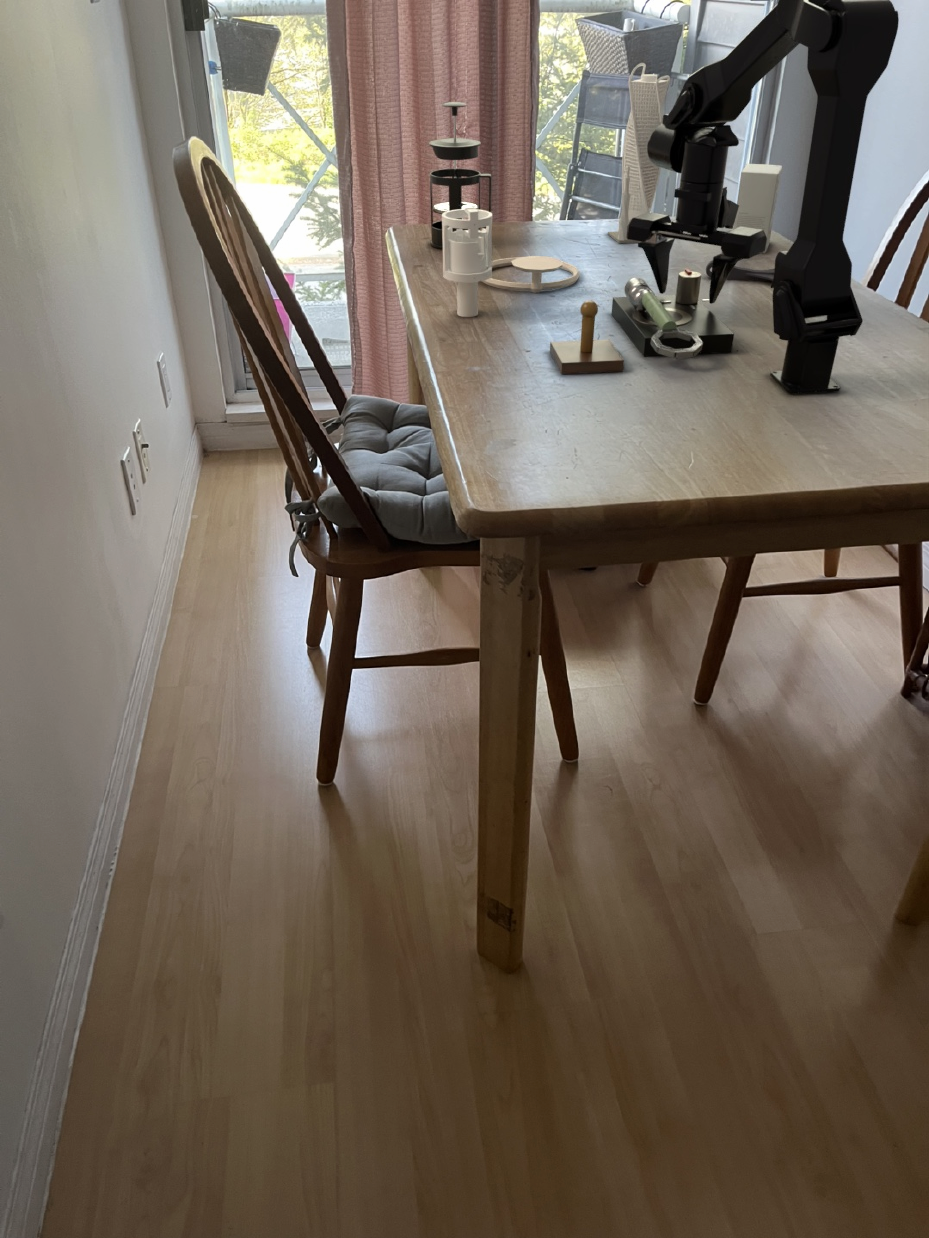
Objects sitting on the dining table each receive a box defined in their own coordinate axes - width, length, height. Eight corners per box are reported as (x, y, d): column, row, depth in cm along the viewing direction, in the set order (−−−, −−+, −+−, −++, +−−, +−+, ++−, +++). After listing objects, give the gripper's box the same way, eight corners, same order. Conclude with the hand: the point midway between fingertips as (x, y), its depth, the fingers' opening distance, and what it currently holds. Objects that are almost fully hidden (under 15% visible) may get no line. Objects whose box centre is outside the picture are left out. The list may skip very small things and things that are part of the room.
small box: (734, 240, 175) (746, 163, 167) (770, 243, 173) (783, 165, 165) (729, 251, 168) (740, 171, 161) (765, 253, 167) (779, 173, 159)
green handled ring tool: (705, 367, 121) (710, 341, 118) (659, 371, 120) (663, 345, 118) (651, 293, 136) (655, 270, 133) (610, 296, 135) (613, 273, 133)
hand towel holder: (569, 236, 161) (596, 268, 144) (568, 262, 163) (594, 297, 146) (470, 238, 159) (486, 271, 142) (470, 265, 162) (486, 301, 145)
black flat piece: (704, 265, 161) (706, 248, 159) (794, 269, 158) (797, 252, 157) (705, 290, 149) (708, 272, 147) (803, 295, 147) (807, 276, 145)
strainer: (451, 323, 136) (449, 213, 128) (438, 309, 142) (436, 202, 133) (497, 318, 138) (499, 209, 129) (483, 304, 143) (483, 199, 135)
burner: (699, 325, 127) (699, 324, 127) (641, 328, 126) (641, 326, 126) (681, 307, 134) (681, 306, 134) (626, 309, 133) (626, 308, 133)
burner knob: (700, 304, 135) (704, 274, 132) (679, 305, 134) (682, 275, 132) (693, 297, 137) (697, 268, 135) (672, 298, 137) (676, 269, 135)
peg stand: (623, 371, 120) (628, 309, 116) (561, 374, 120) (564, 311, 115) (608, 350, 127) (613, 290, 122) (549, 352, 126) (552, 292, 121)
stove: (743, 352, 126) (747, 332, 124) (643, 356, 125) (645, 336, 123) (701, 310, 141) (703, 292, 139) (610, 314, 139) (612, 295, 138)
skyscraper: (605, 232, 180) (618, 62, 164) (646, 230, 181) (662, 61, 165) (619, 243, 173) (634, 67, 157) (661, 241, 174) (680, 66, 158)
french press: (424, 250, 170) (420, 106, 157) (428, 237, 178) (425, 99, 164) (490, 251, 169) (491, 106, 156) (491, 238, 177) (492, 99, 164)
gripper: (793, 178, 127) (772, 296, 136) (669, 163, 136) (657, 274, 145) (757, 192, 120) (737, 315, 129) (629, 175, 129) (619, 291, 138)
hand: (687, 298), depth 135 cm, fingers open, 8 cm apart
